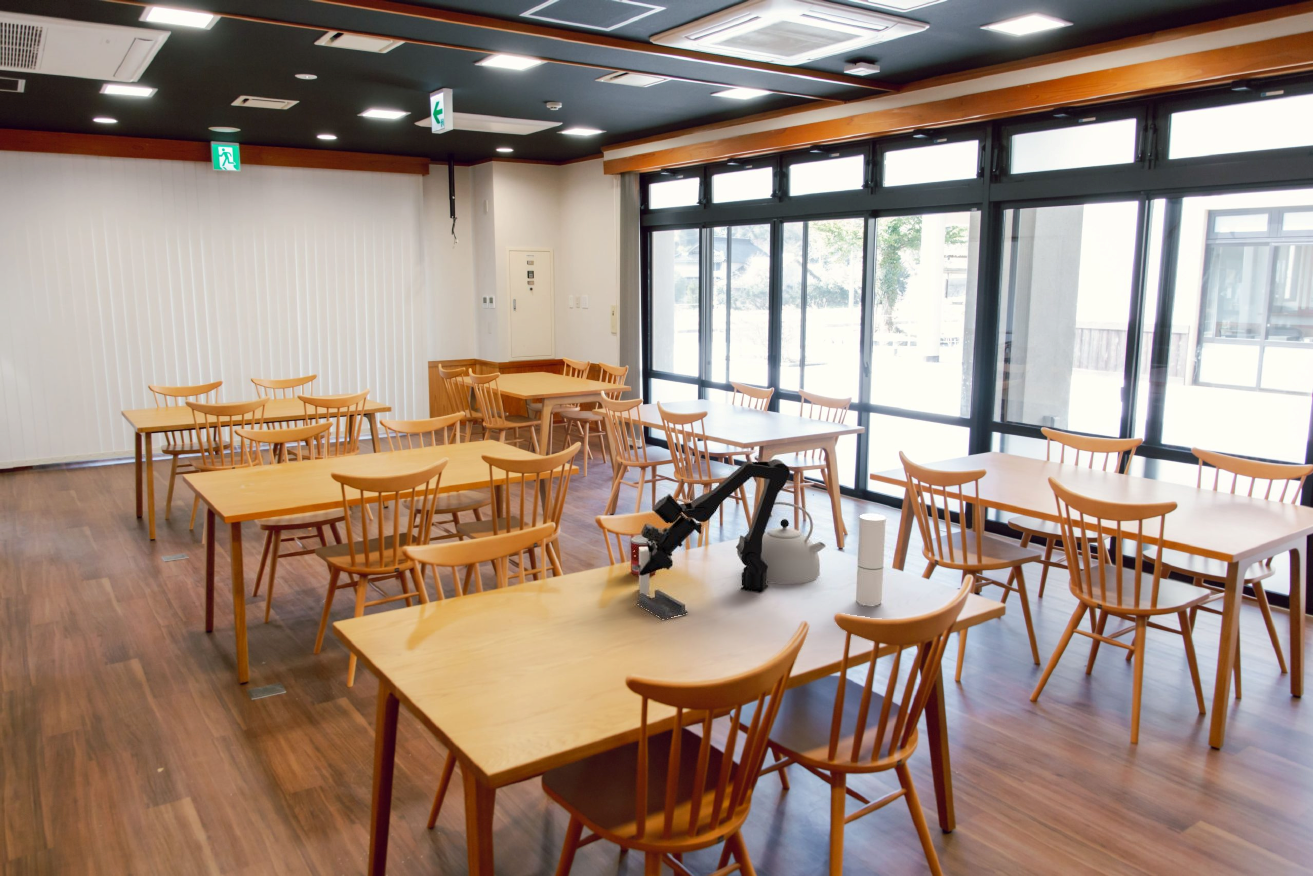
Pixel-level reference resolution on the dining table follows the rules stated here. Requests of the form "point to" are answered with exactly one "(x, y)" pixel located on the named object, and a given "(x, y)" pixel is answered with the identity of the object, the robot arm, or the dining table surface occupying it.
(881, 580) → the cylindrical container
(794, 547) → the kettle
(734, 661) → the dining table surface
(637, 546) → the canned food
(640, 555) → the door panel
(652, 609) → the bottom track
